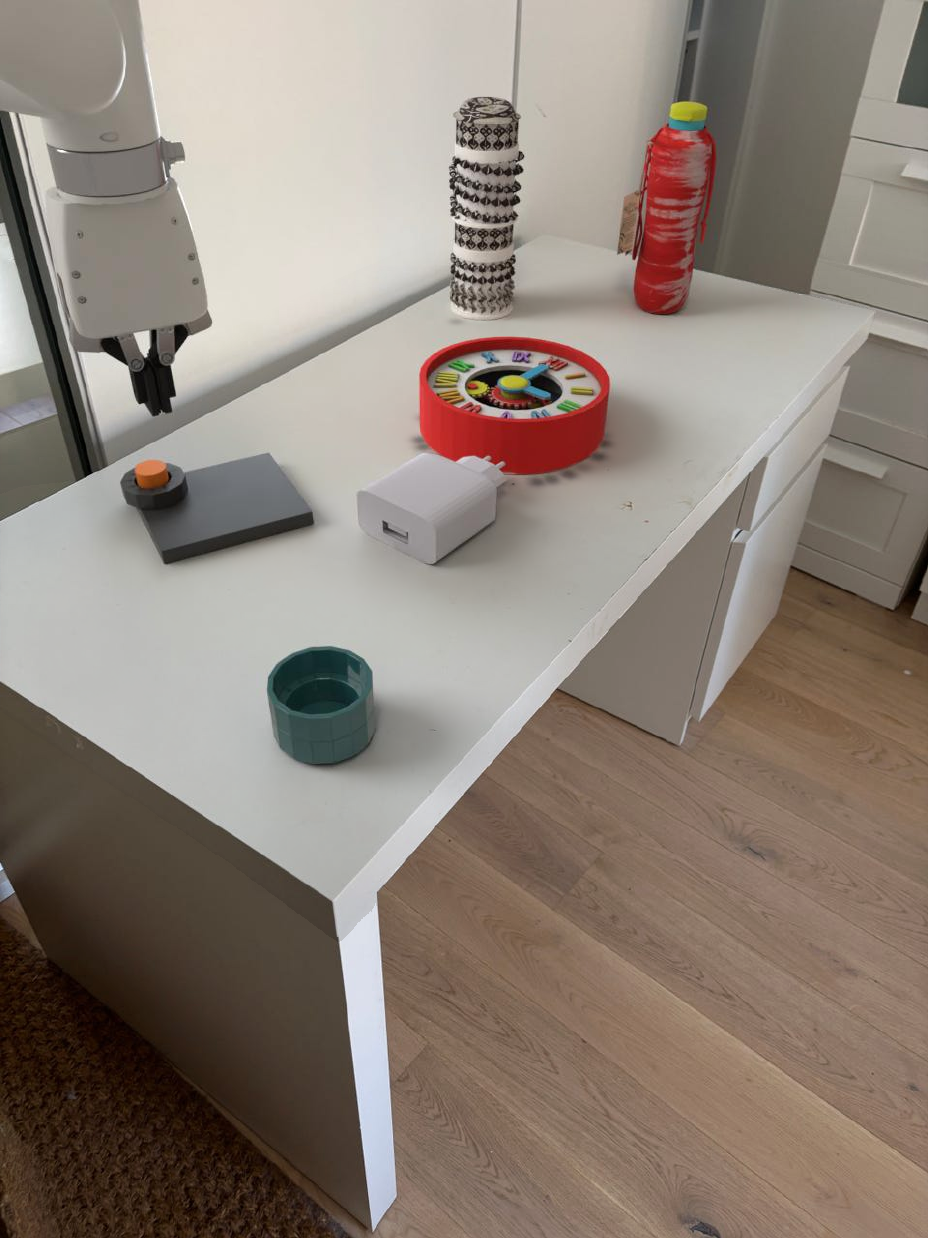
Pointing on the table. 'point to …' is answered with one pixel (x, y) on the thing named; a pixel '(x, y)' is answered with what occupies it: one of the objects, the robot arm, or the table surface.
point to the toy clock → (513, 403)
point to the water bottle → (670, 209)
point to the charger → (430, 504)
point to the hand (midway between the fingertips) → (157, 407)
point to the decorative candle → (484, 207)
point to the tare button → (151, 474)
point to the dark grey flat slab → (217, 506)
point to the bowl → (321, 704)
